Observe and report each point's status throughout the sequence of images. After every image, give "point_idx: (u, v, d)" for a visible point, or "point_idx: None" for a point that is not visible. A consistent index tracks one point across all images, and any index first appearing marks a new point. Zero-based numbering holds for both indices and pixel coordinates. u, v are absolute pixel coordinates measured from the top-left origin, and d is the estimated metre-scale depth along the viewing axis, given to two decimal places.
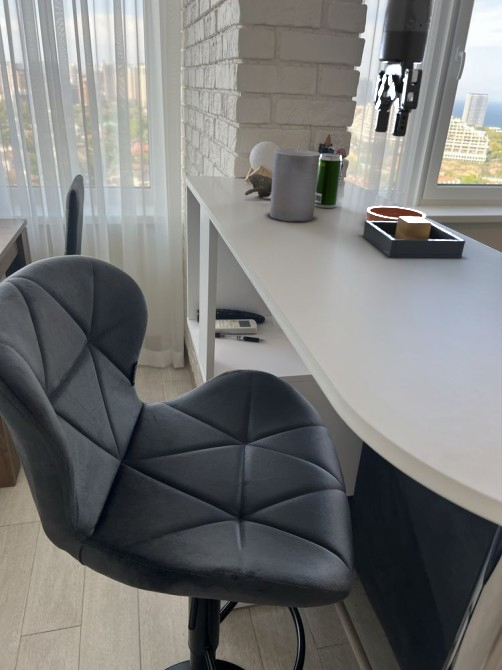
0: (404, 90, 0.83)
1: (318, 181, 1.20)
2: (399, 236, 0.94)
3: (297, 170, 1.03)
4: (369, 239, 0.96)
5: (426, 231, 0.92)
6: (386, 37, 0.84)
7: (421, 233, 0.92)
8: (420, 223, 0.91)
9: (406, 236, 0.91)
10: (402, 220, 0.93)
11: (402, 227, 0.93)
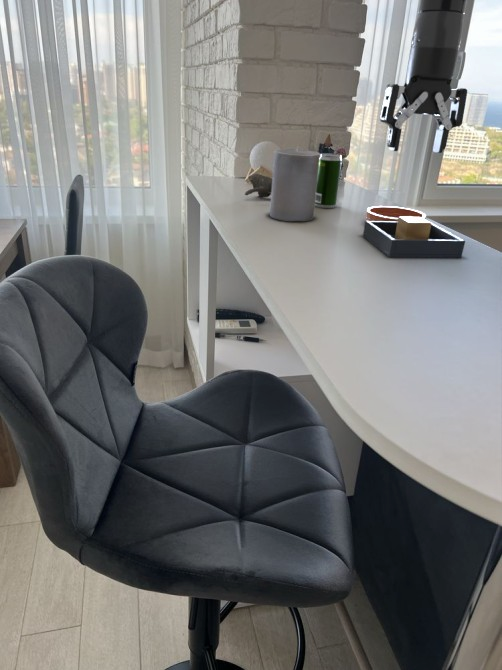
0: None
1: (318, 181, 1.20)
2: (399, 236, 0.94)
3: (297, 170, 1.03)
4: (369, 239, 0.96)
5: (426, 231, 0.92)
6: None
7: (421, 233, 0.92)
8: (420, 223, 0.91)
9: (406, 236, 0.91)
10: (402, 220, 0.93)
11: (402, 227, 0.93)
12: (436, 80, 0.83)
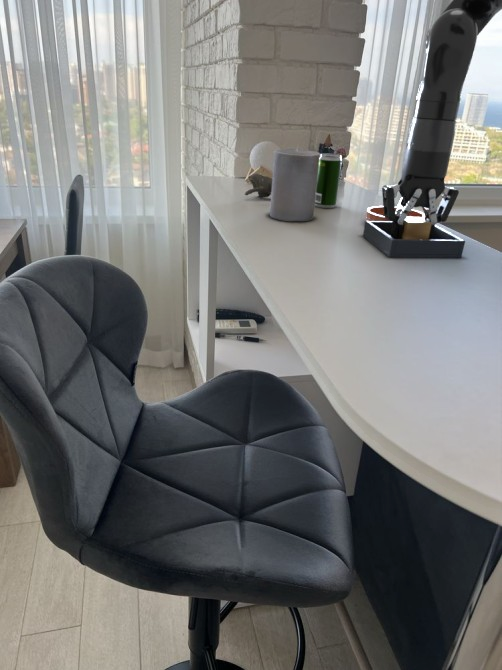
0: None
1: (318, 181, 1.20)
2: None
3: (297, 170, 1.03)
4: (369, 239, 0.96)
5: (426, 231, 0.92)
6: None
7: (421, 233, 0.92)
8: (420, 223, 0.91)
9: (406, 236, 0.91)
10: None
11: None
12: None
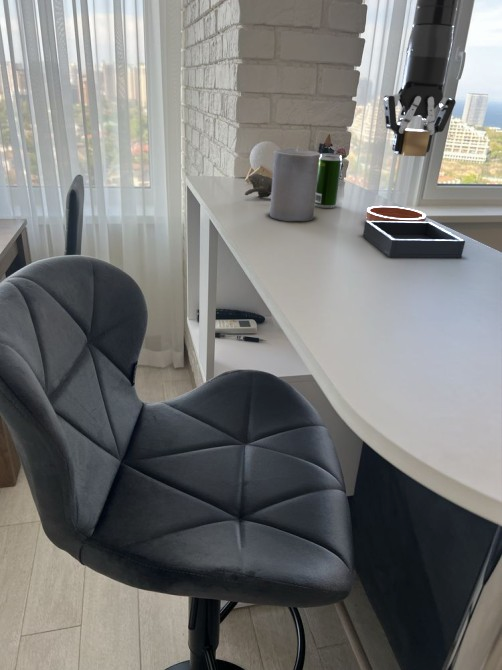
0: None
1: (318, 181, 1.20)
2: None
3: (297, 170, 1.03)
4: (369, 239, 0.96)
5: (425, 140, 0.96)
6: None
7: (420, 142, 0.96)
8: (419, 131, 0.95)
9: (406, 145, 0.96)
10: None
11: None
12: (428, 85, 0.93)
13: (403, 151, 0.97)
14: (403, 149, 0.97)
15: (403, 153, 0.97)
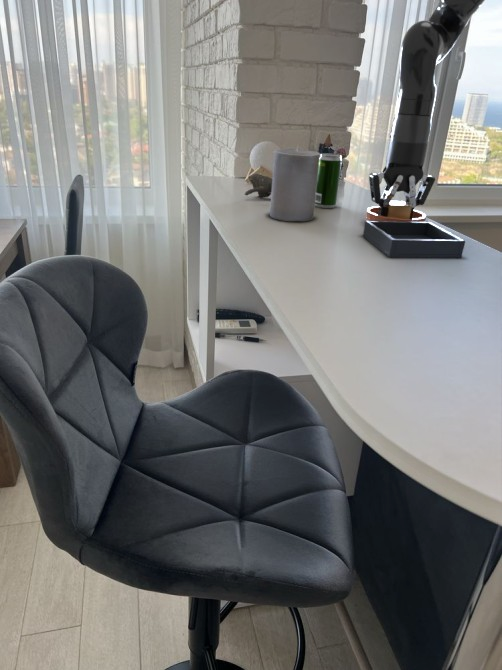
0: None
1: (318, 181, 1.20)
2: None
3: (297, 170, 1.03)
4: (369, 239, 0.96)
5: (407, 213, 1.05)
6: None
7: (403, 215, 1.05)
8: (402, 206, 1.04)
9: None
10: None
11: None
12: (410, 166, 1.02)
13: None
14: None
15: None
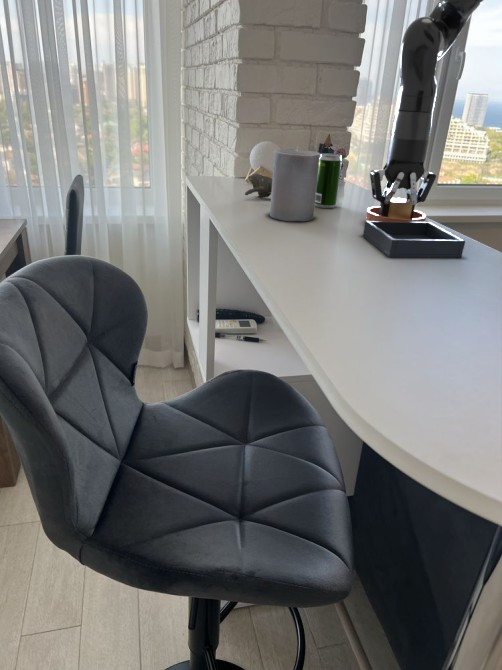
0: None
1: (318, 181, 1.20)
2: None
3: (297, 170, 1.03)
4: (369, 239, 0.96)
5: (408, 210, 1.05)
6: None
7: (404, 212, 1.05)
8: (403, 203, 1.04)
9: (391, 214, 1.05)
10: None
11: None
12: (411, 162, 1.02)
13: None
14: None
15: None
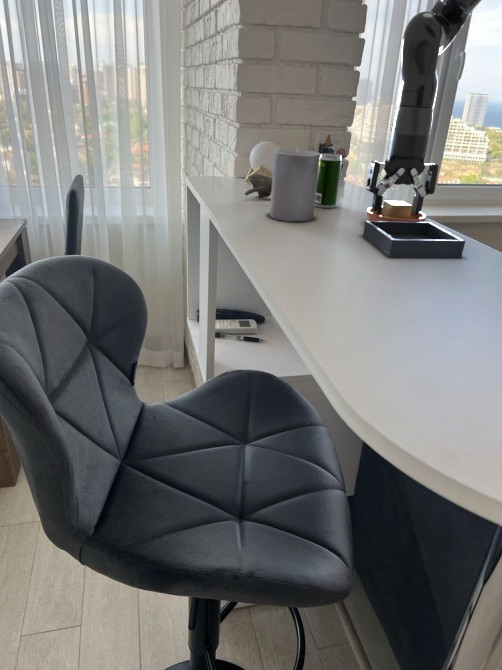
0: None
1: (318, 181, 1.20)
2: None
3: (297, 170, 1.03)
4: (369, 239, 0.96)
5: (407, 213, 1.05)
6: None
7: (403, 215, 1.05)
8: (402, 206, 1.05)
9: (391, 217, 1.05)
10: (387, 203, 1.06)
11: (387, 210, 1.06)
12: (411, 158, 1.01)
13: None
14: None
15: None
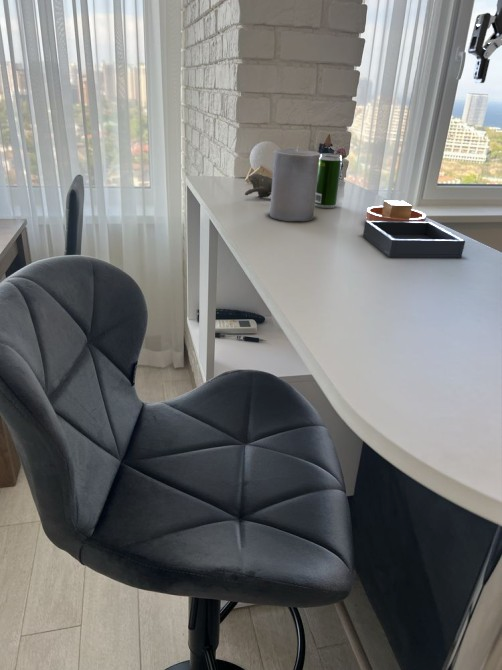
0: None
1: (318, 181, 1.20)
2: None
3: (297, 170, 1.03)
4: (369, 239, 0.96)
5: (407, 213, 1.05)
6: None
7: (403, 215, 1.05)
8: (402, 206, 1.05)
9: (391, 217, 1.05)
10: (387, 203, 1.06)
11: (387, 210, 1.06)
12: None
13: None
14: None
15: None
